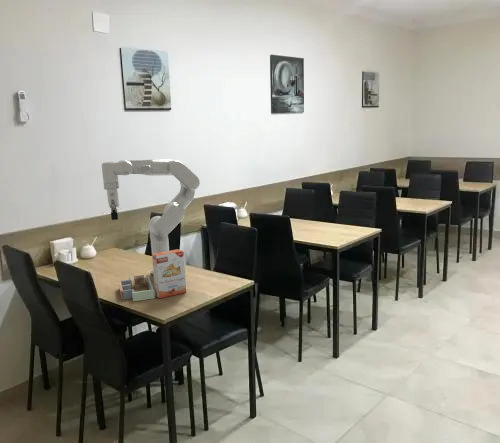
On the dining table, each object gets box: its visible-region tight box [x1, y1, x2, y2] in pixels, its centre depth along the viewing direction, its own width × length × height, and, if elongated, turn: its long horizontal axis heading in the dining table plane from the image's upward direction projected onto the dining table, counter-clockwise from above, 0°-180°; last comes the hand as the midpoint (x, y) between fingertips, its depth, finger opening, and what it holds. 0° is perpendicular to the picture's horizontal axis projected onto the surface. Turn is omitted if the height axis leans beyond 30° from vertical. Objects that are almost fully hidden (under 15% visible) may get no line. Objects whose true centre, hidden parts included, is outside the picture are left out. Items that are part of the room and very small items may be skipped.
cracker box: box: [151, 248, 187, 299], centre depth 230 cm, size 14×6×21 cm, turn 122°
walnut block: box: [133, 274, 146, 289], centre depth 247 cm, size 5×5×5 cm
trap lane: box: [118, 274, 156, 302], centre depth 238 cm, size 15×27×4 cm, turn 17°
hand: (114, 218), depth 255 cm, fingers open, 9 cm apart
